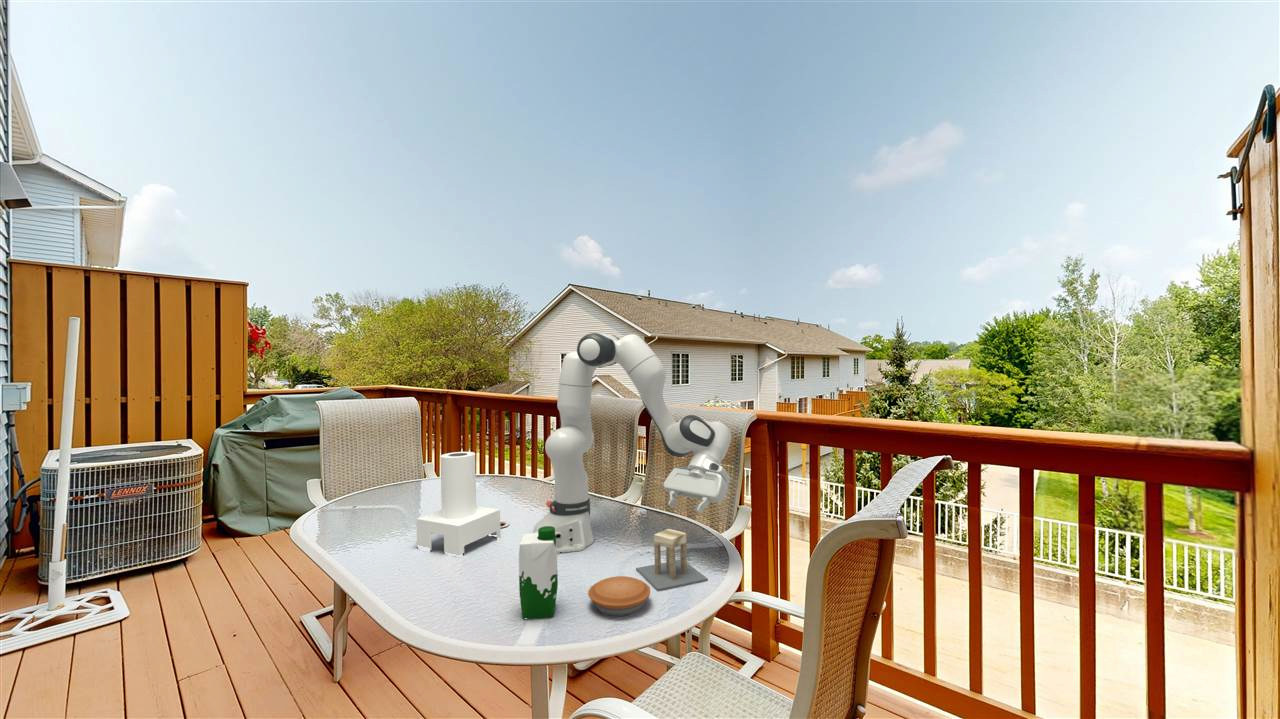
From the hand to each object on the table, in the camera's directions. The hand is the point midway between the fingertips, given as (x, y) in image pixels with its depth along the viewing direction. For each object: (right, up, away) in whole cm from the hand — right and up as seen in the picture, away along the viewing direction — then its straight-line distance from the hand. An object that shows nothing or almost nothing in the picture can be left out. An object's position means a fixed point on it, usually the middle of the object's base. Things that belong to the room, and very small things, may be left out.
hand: (683, 509), depth 149 cm
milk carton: (-37, -18, -24) cm, 48 cm away
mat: (-4, -17, -5) cm, 18 cm away
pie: (-18, -18, -22) cm, 33 cm away
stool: (-4, -17, -5) cm, 18 cm away
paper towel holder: (-73, -19, +24) cm, 79 cm away
